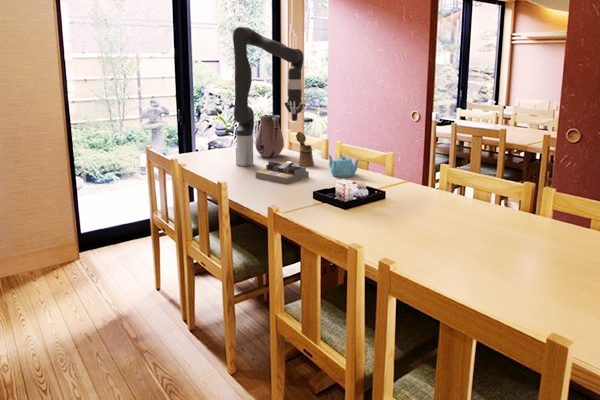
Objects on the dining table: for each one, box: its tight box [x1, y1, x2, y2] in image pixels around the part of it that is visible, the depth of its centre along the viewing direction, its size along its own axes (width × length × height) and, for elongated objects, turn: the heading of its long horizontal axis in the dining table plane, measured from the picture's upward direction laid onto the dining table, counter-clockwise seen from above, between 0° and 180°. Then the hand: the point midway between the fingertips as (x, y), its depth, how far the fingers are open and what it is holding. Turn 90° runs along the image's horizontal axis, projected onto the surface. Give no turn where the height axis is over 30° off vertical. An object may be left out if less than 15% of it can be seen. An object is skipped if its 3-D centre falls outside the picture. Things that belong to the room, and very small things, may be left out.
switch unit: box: [255, 162, 310, 185], centre depth 267 cm, size 21×18×6 cm
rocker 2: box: [278, 160, 294, 171], centre depth 269 cm, size 4×8×2 cm, turn 142°
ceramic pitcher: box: [255, 114, 285, 158], centre depth 315 cm, size 18×21×25 cm
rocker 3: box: [289, 165, 305, 170], centre depth 265 cm, size 4×8×2 cm, turn 142°
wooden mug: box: [295, 131, 315, 168], centre depth 295 cm, size 9×14×18 cm, turn 27°
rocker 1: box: [267, 161, 281, 166], centre depth 273 cm, size 4×8×2 cm, turn 142°
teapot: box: [327, 154, 361, 178], centre depth 271 cm, size 15×15×10 cm
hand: (294, 120), depth 277 cm, fingers closed
